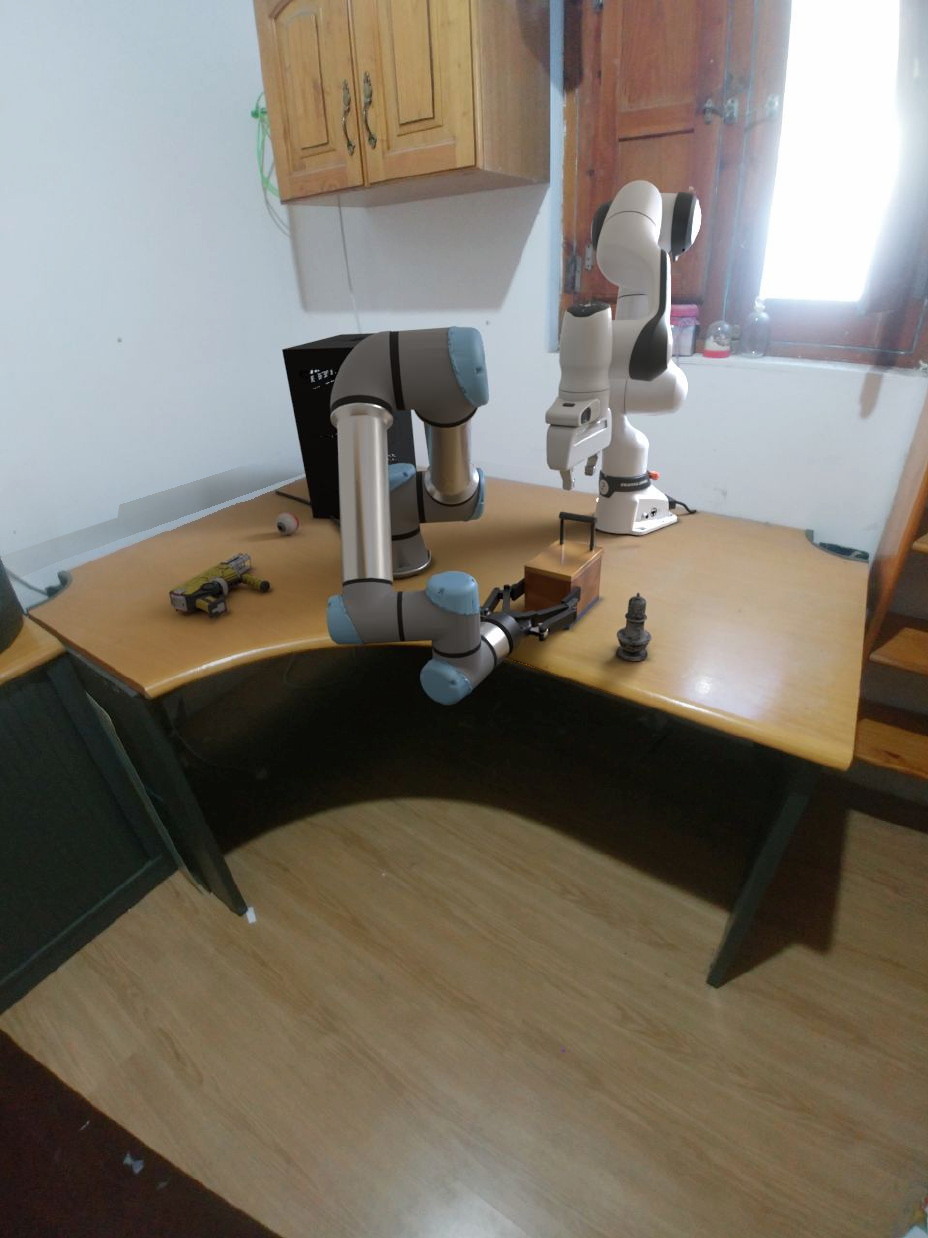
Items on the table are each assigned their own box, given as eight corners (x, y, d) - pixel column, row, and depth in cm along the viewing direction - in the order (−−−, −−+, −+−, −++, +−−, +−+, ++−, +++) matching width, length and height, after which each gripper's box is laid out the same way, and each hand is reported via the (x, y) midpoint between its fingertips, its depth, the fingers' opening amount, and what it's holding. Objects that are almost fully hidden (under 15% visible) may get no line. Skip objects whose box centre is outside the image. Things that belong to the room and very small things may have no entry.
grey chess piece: (650, 663, 103) (658, 601, 97) (615, 660, 105) (620, 600, 99) (648, 644, 108) (655, 585, 102) (614, 642, 110) (620, 583, 104)
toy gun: (291, 561, 141) (237, 550, 145) (223, 605, 121) (163, 591, 125) (293, 579, 143) (240, 568, 147) (226, 625, 123) (167, 611, 127)
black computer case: (378, 519, 171) (356, 347, 149) (313, 517, 176) (282, 349, 153) (417, 479, 203) (403, 331, 180) (361, 478, 207) (341, 334, 185)
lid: (559, 543, 125) (560, 507, 121) (603, 552, 120) (606, 514, 116) (524, 570, 115) (524, 531, 111) (571, 581, 110) (572, 541, 106)
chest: (556, 588, 129) (557, 545, 124) (598, 599, 124) (602, 554, 119) (524, 616, 120) (524, 571, 115) (569, 629, 115) (571, 582, 110)
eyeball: (273, 537, 164) (268, 516, 161) (287, 528, 169) (282, 508, 166) (291, 539, 161) (286, 518, 158) (305, 530, 166) (301, 510, 163)
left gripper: (439, 641, 108) (504, 591, 124) (551, 679, 96) (607, 618, 112) (436, 605, 104) (503, 557, 120) (552, 639, 93) (610, 582, 108)
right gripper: (591, 393, 116) (587, 465, 123) (540, 415, 101) (539, 495, 108) (622, 395, 112) (616, 469, 119) (574, 418, 98) (571, 500, 105)
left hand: (553, 586), depth 116 cm, fingers closed on chest, 10 cm apart
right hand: (579, 481), depth 114 cm, fingers open, 8 cm apart
